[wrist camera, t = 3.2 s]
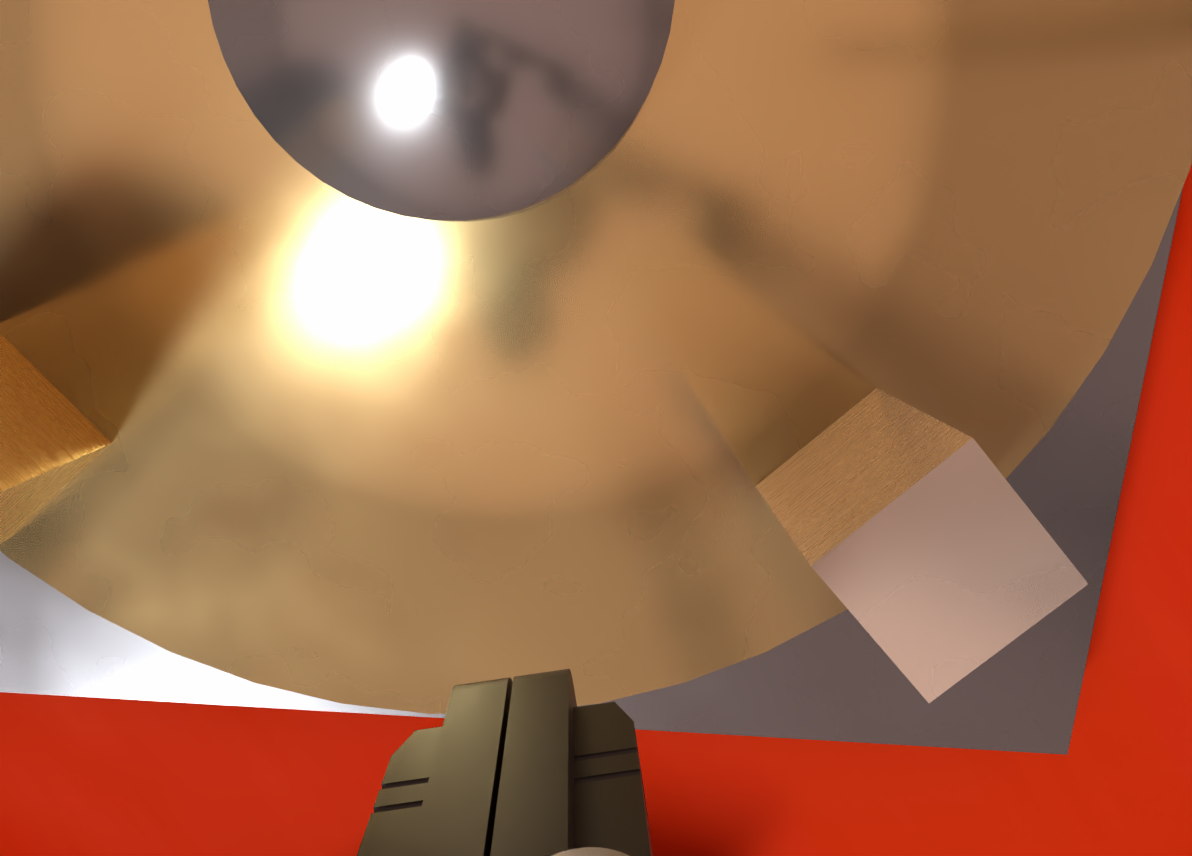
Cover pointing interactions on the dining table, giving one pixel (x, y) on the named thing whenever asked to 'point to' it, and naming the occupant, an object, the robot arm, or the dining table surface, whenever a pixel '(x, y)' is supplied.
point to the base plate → (769, 680)
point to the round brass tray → (562, 322)
